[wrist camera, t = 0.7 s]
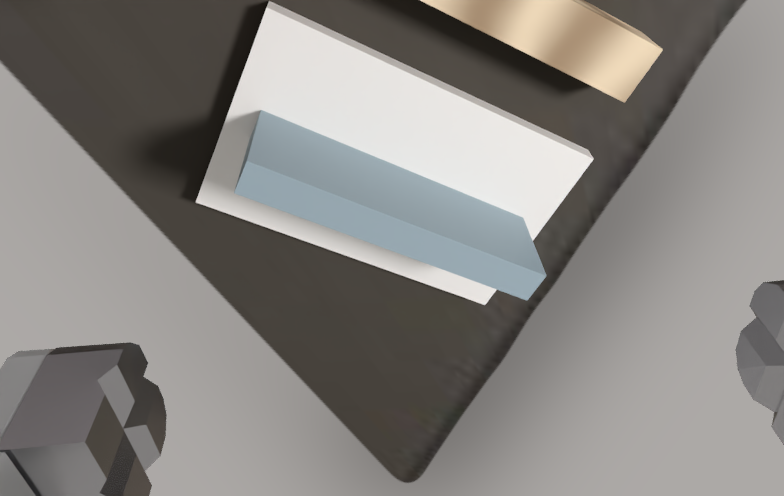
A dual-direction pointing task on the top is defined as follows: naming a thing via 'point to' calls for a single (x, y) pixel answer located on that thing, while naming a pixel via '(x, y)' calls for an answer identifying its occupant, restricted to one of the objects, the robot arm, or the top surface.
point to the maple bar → (564, 38)
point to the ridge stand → (386, 163)
